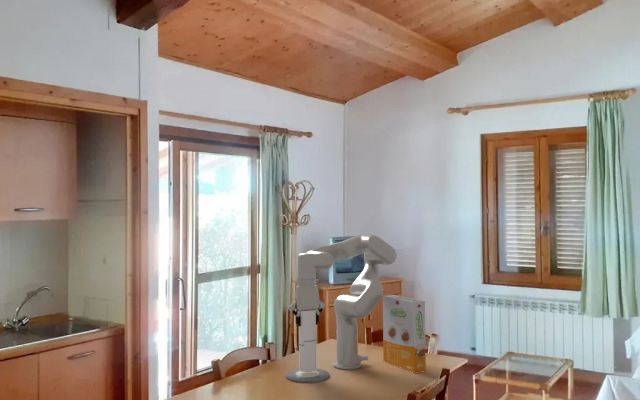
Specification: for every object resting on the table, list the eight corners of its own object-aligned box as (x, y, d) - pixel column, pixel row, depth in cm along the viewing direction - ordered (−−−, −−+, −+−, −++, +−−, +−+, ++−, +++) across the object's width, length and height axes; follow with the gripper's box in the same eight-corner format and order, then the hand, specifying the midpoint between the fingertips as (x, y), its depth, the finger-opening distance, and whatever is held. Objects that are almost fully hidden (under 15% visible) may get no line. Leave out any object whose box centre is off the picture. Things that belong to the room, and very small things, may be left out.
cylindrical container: (314, 372, 227) (313, 311, 228) (297, 371, 229) (296, 311, 229) (317, 367, 234) (317, 308, 235) (301, 366, 236) (300, 308, 236)
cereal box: (425, 371, 238) (424, 301, 238) (414, 373, 235) (413, 302, 235) (394, 359, 257) (393, 294, 258) (383, 361, 254) (382, 295, 255)
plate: (319, 368, 243) (319, 365, 243) (335, 379, 226) (335, 376, 226) (280, 373, 236) (280, 370, 236) (294, 384, 220) (294, 381, 220)
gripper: (322, 280, 239) (323, 321, 239) (284, 282, 233) (284, 325, 232) (329, 282, 232) (329, 324, 232) (290, 284, 226) (290, 328, 225)
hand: (307, 324), depth 232 cm, fingers closed on cylindrical container, 7 cm apart
